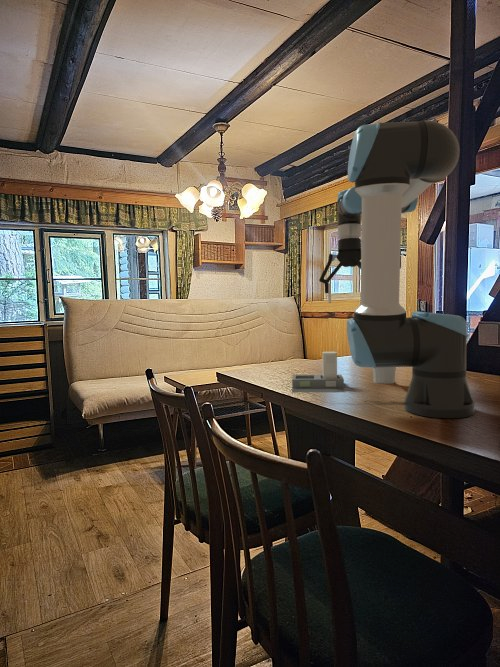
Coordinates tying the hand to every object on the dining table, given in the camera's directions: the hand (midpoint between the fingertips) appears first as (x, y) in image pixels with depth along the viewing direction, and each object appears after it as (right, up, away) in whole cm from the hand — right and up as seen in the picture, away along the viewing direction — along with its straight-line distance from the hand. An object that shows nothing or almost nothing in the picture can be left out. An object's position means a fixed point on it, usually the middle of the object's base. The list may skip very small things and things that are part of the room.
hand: (350, 302), depth 146 cm
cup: (+8, -27, -12) cm, 30 cm away
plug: (-9, -26, -15) cm, 31 cm away
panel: (-13, -27, -14) cm, 33 cm away
